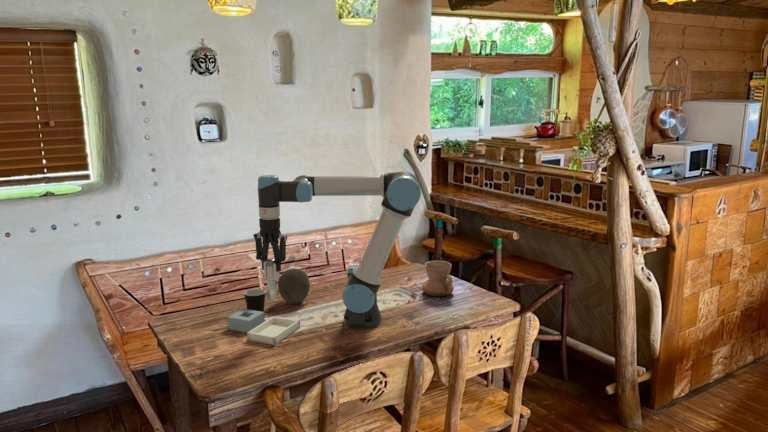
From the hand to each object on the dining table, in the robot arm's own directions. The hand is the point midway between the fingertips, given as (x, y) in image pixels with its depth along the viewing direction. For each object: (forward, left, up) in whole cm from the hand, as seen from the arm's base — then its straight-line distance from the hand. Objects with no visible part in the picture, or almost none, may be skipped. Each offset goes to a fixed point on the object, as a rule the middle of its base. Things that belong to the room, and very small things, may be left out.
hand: (271, 278), depth 222 cm
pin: (0, 0, -8) cm, 8 cm away
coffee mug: (+18, -15, -22) cm, 32 cm away
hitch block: (+14, -2, -22) cm, 26 cm away
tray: (0, 0, -22) cm, 22 cm away
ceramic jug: (-44, -68, -22) cm, 84 cm away
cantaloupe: (+11, -33, -22) cm, 41 cm away
